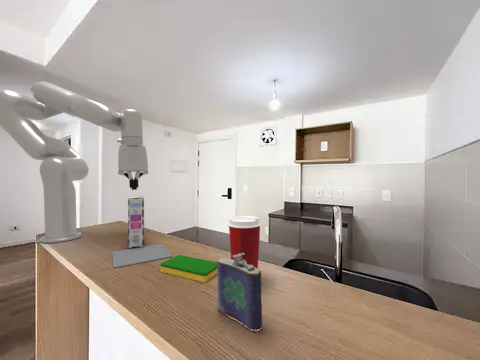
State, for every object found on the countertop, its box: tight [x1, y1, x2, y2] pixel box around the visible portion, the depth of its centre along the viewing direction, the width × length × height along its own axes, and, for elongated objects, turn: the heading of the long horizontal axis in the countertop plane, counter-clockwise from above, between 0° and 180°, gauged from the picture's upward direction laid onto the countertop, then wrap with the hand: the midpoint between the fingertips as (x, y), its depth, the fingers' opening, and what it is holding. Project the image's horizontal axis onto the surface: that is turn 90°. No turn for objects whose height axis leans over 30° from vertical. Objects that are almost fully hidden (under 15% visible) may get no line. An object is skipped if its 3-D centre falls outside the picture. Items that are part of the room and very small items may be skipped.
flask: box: [216, 253, 263, 330], centre depth 37 cm, size 9×3×11 cm, turn 48°
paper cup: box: [226, 215, 262, 269], centre depth 50 cm, size 8×8×14 cm
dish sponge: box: [159, 254, 218, 283], centre depth 55 cm, size 7×14×2 cm, turn 64°
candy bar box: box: [127, 196, 145, 249], centre depth 77 cm, size 11×5×16 cm, turn 25°
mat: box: [111, 243, 173, 269], centre depth 67 cm, size 14×15×1 cm
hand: (134, 189), depth 86 cm, fingers closed
